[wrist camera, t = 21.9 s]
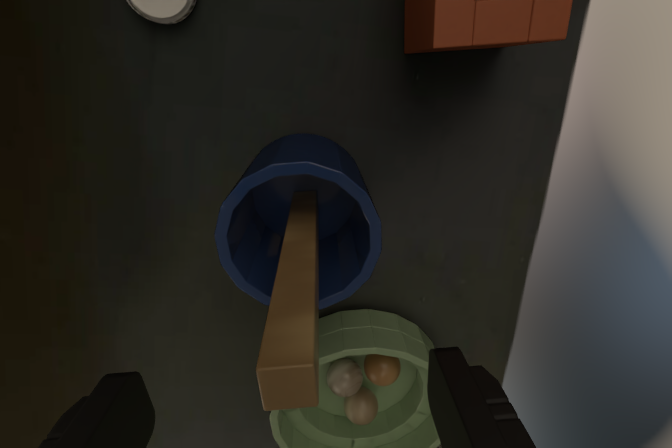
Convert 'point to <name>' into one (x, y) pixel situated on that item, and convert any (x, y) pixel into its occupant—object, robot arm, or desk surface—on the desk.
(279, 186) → the crock
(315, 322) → the stick
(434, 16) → the holder
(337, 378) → the bead
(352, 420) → the bead
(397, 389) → the bowl
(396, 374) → the bead
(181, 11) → the grey bottle cap
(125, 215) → the desk surface
